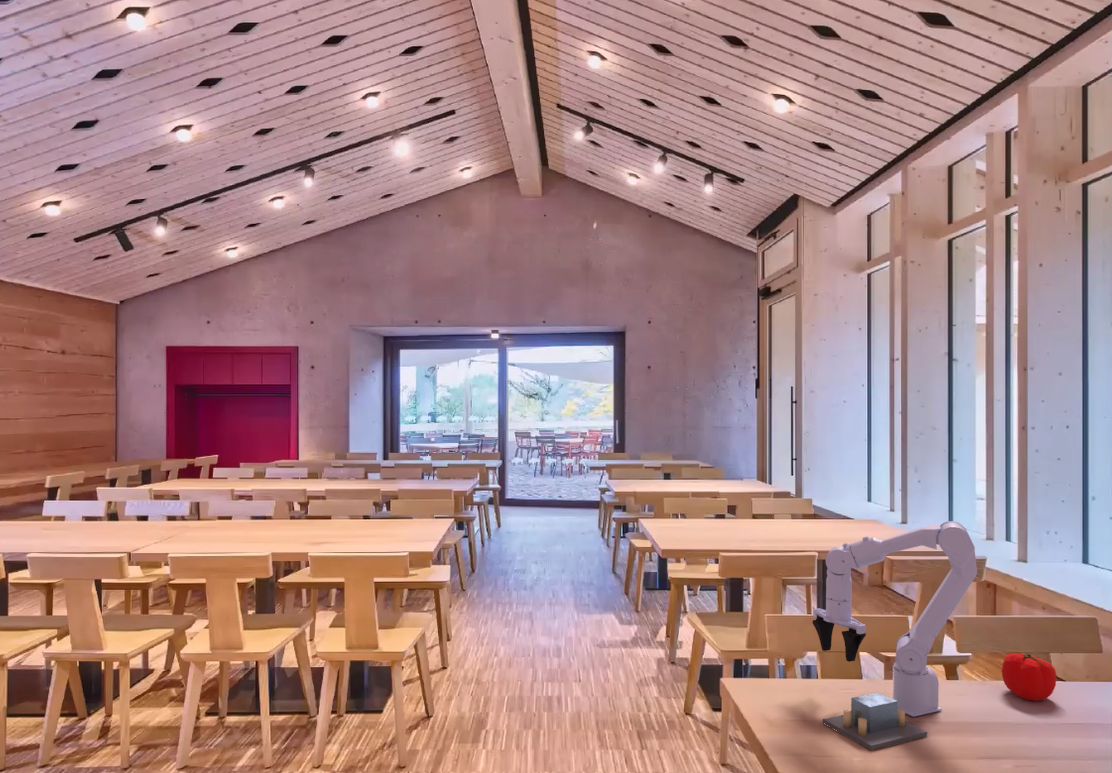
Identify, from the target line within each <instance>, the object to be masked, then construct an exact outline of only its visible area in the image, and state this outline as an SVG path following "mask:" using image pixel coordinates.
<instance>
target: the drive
mask: <svg viewBox="0 0 1112 773" xmlns="http://www.w3.org/2000/svg"><path fill="white" fill-rule="evenodd" d="M850 706H851V709H850V711H851V712H852V721H851V724H853V725H854V726H856V727H858V718H865V719H866V720H867V732H868V733H870V734H871V733H875V732H879V731H883V730H887V729H891V728H896V727H897V712H898V701H896V700H894V699H893V697H890V696H887V695H885V694H883V693H880V692H873V693H869V694H864V695H859V696H855V697H851V699H850Z"/></svg>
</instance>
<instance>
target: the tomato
mask: <svg viewBox="0 0 1112 773" xmlns="http://www.w3.org/2000/svg"><path fill="white" fill-rule="evenodd" d="M1001 677H1002V681H1003V683H1004V685H1005V686H1006V687H1007V689H1008V690H1009V691H1010V692H1011V693H1013V694H1014V695H1016V696H1017V697H1018V698H1020V699H1023V700H1027V701H1034V702H1036V701H1045V700H1046V699H1047V698H1049V697H1051V695H1052V694H1053V692H1054V691H1055V688H1056V684H1057V673H1056V668H1055V667H1054V666H1053V665H1052V664H1051V663H1050V662H1049V661H1046V659H1045V658H1044V659H1043V658H1040V657H1039V656H1036V655H1033V654H1029V653H1028V652H1027V651H1024V652H1018V651H1017V652H1015V651H1012V652H1010V653H1009V654H1007V655H1006V656H1005V657H1004V660H1003V662H1002V665H1001Z"/></svg>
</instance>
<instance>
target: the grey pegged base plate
mask: <svg viewBox="0 0 1112 773" xmlns="http://www.w3.org/2000/svg"><path fill="white" fill-rule="evenodd" d="M851 721H852V712H851V710H850V709H847V710H846V709H844V710H843V713H842V714H841V715H836V716H830V717H827V718H823V719H822V724H823V723H825V724H826V725H828V726H830V727H831V728H830V727H829V728H830V729H832V728H833V729H835V730H837V731H838V732H837V731H836V732H837V733H839V732H840V733H839V734H840V735H842V734H843V736H844V737H845V738H848V739H850V740H852V741H853V742H855V743H857V744H859V745H861V746H863V748H866V749H868V750H869V751H875V750H878V749H882V748H887V747H891V746H896V745H899V744H902V743H905V742H906V743H907V742H911V741H915V740H918V739H923V738H925V737H926V738H927V737H928V731H926V730H925V729H923V728H920V727H918V726H916V725H914V724H912V723H910V722H907V721H906V713H905V711H904V710H902V709H898V712H897V727H896V728H891V729H887V730H883V731H879V732H875V733H871V734H870V733H868V732H867V720H866V719H865V718H858V727H856V726H854V725H853V724H851ZM826 725H825V726H826ZM828 726H827V727H828ZM833 729H832V730H833ZM835 730H834V731H835Z"/></svg>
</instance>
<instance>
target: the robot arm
mask: <svg viewBox="0 0 1112 773" xmlns="http://www.w3.org/2000/svg"><path fill="white" fill-rule="evenodd" d="M971 538H972V537H970V534H969V532H968V531H967V529H966V527H965V526H964V525H963V524H961V523H960V522H957V521H952V520H948V521H945V522H943V523H933V524H930V525H925V526H922V527H919V528H915V529H912V530H910V531H907V532H903V533H900V534H898V535H895V536H892V537H888V538H885V539H878V538H877V537H873V536H872V537H869V536H868V535H866V536H863V537H862V540H859V541H856V542H853V543H849V544H848V543H847V542H845V543H843V544H842V546H840V545H839V546H838V545H837V546H834V547H832V548H831V549H830V550H829V551H828V553H827V555H826V557H825V565H826V568H827V569H826V575H827V576H826V579H825V586H826V588H825V589H826V590H825V609H823V608H819V607H818V608H813V611H812V612H813V615H812V616H813V618H815V619H813V620H812V625H813V627H814V628H815V631H816V632H817V636H818V639H819V644H820V648H821V650H822V651H823V652H827V651H831V649H832V637H833V631H834V627H835V625H838V626H839V627H843V628H845V629H848V630H843V631H841V635H842V638H843V641H844V646H845V647H844V650H845V661H846V662H848V663H851V662H854V661H856V657H857V654H858V652H859V648H860V646H861V644H862V642H863V640H864V638H865V637H866V635H867V631H866V630H867V626H866V624H864V623H862V622H860V621H858V619H856V618H854V617H852V614H853V613H852V612H853V611H852V609H853V608H852V606H853V605H852V604H853V603H852V602H853V600H852V596H853V595H852V594H853V589H852V588H853V583H852V582H853V580H852V568H853V569H854V568H855V569H858V568H863V567H866V566H871V565H873V564H874V565H875V564H876V563H882V562H883V561H885V559H886V556H887V555H889V554H891V553H896V552H901V551H904V550H910V549H913V548H918V547H921V546H923V547H926V548H931V549H933V550H937V545H939V547H940V549H941V550H942V551H943V553H944V554H945V556H946V557H947V558H948V561H949V564H950V567H951V568H950V570H949V571H948V573H947V574H946V576H945V578H944V579H943V581H942V582H941V584H940V585H939V587H938V589H937V590H935V592H934V595H933V596H932V598H930V601H929V602H928V603H927V606H926V607H925V608H924V610H923V611H922V613H921V615H920V616H919V618H918V619H917V621H916V622H915V623H914V624H913V625H912V626H911V627H910V628H909V630H908V632H906V633H905V634H903V635H901V636H900V637H899V638H897V640H896V643H895V648H896V652H895V662H894V663H893V684H892V686H893V692H892V693H893V694H892V695H893V696H892V699H894V700H896V701H898V709H902V710H904V711H905V715H907V716H911V717H914V718H915V717H919V716H923V715H928V714H932V713H936V712H940V711H942V707H940V706H939V679H938V675H937V674H936V672H935V671H934V670H933V669H932V668H931V667H929V666H927V662H928V655H929V653H930V651H931V649H932V647H933V645H934V642H935V639H936V638H937V637H938V635H939V633H940V632H941V631H942V629H943V627H944V625H945V624H946V623H947V621H948V620H949V618H950V616H951V615H952V614H953V612H954V611H955V609H956V607H957V605H958V604H959V603H960V601H961V600H962V598H963V597H964V595H965V594H966V592H967V590H968V589H969V588H970V586H971V584H973V582H974V580H975V578H976V577H977V574H978V567H977V559H976V558H977V557H976V551H975V549H976V548H975V545H974V543H973V541H972V539H971Z"/></svg>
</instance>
